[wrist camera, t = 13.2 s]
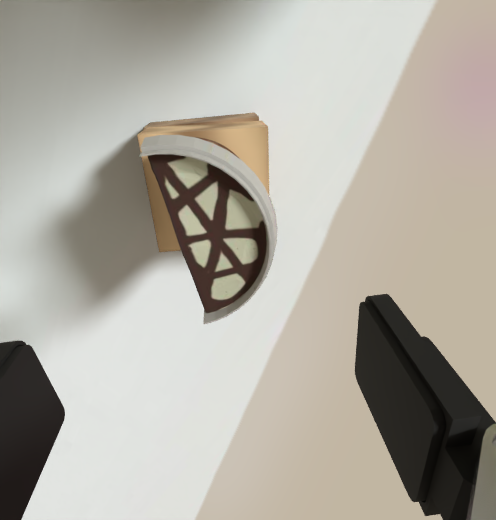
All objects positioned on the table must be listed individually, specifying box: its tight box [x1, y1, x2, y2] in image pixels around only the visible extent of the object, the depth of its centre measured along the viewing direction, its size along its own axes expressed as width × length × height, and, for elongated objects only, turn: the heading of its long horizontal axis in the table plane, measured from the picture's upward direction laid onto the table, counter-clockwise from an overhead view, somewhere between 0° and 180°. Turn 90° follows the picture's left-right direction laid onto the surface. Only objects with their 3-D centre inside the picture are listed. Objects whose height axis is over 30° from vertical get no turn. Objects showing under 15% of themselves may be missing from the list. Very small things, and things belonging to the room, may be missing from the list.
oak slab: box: [138, 121, 269, 252], centre depth 31 cm, size 10×10×4 cm
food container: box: [139, 135, 277, 324], centre depth 25 cm, size 12×6×10 cm, turn 14°
